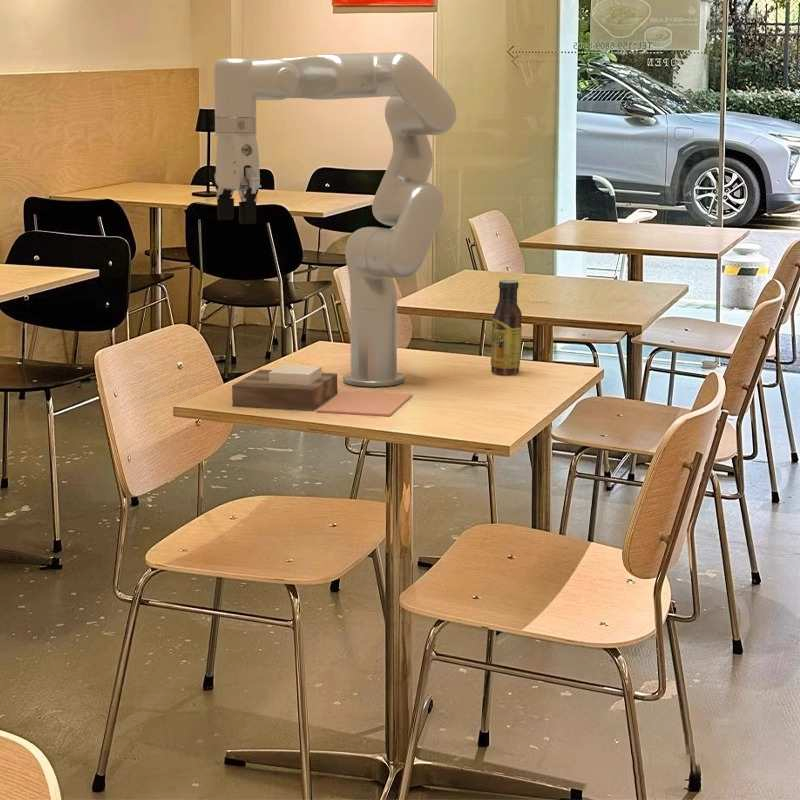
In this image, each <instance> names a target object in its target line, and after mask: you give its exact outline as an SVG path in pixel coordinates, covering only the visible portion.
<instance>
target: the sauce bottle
mask: <svg viewBox="0 0 800 800" xmlns="http://www.w3.org/2000/svg"><path fill="white" fill-rule="evenodd" d="M498 288H499V292H498V293H499V297H498V302H497V306H496V308H495V310H494V313H493V316H492V325H491V342H490V343H491V344H490V345H491V351H490V352H491V353H490V366H491V368H490V369H491V370H490V371H491V373H492V374H495V375H498V376H515V375H518V374H519V373H520V366H521V352H522V351H521V349H522V331H523V329H522V318H523V317H522V316H523V315H522V311H521V309H520V307H519V305H518V288H519V281H518V280H514V279H501V280H499V283H498Z"/></svg>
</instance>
